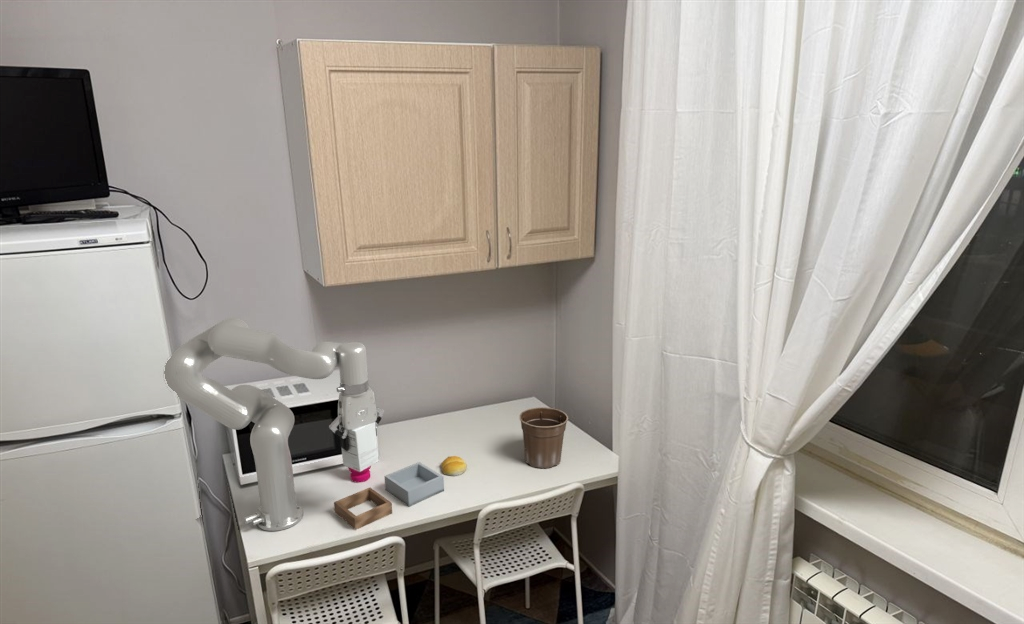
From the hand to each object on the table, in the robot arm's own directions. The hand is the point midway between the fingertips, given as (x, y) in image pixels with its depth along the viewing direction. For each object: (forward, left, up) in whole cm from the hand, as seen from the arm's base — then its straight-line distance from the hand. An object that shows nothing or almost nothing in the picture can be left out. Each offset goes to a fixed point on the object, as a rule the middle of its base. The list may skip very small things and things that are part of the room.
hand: (359, 444), depth 182 cm
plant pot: (+61, -14, -22) cm, 66 cm away
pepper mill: (+10, +19, -22) cm, 31 cm away
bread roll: (+35, +2, -22) cm, 41 cm away
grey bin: (+18, 0, -22) cm, 28 cm away
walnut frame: (0, 0, -22) cm, 22 cm away
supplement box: (0, 0, -6) cm, 6 cm away
